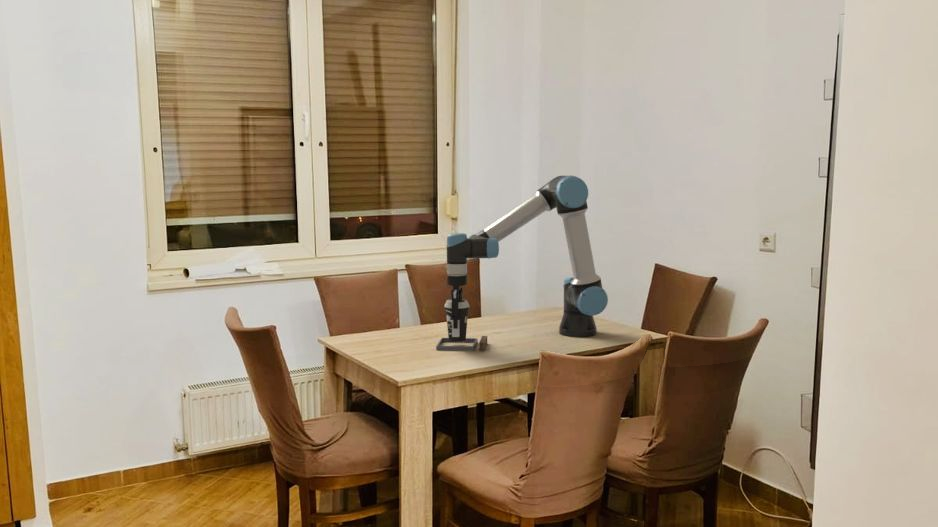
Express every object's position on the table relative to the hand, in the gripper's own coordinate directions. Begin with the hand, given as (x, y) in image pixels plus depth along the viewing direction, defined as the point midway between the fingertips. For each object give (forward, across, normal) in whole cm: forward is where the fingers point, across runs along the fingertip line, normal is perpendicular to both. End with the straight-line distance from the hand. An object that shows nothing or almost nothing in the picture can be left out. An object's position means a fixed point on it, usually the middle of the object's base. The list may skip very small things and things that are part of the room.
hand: (457, 334), depth 295 cm
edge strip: (+4, +1, +10) cm, 11 cm away
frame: (+4, 0, 0) cm, 4 cm away
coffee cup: (+2, 0, 0) cm, 2 cm away
